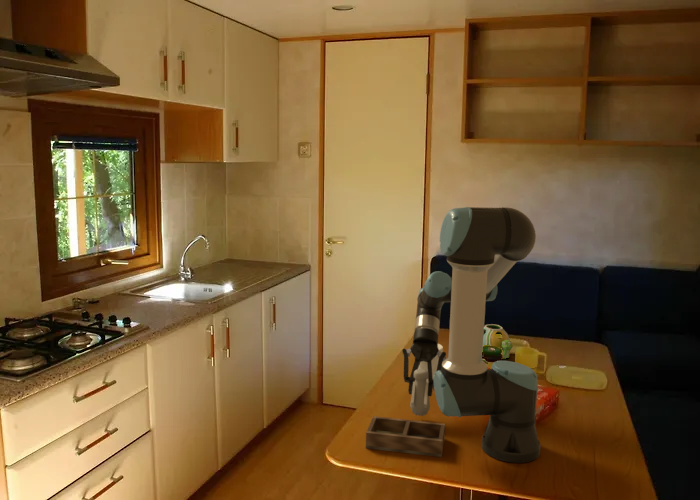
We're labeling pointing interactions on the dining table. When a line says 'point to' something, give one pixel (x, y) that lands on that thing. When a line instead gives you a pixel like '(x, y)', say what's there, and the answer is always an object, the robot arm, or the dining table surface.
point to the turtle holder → (497, 339)
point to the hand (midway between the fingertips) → (418, 405)
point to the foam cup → (434, 363)
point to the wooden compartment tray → (406, 436)
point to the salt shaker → (420, 393)
